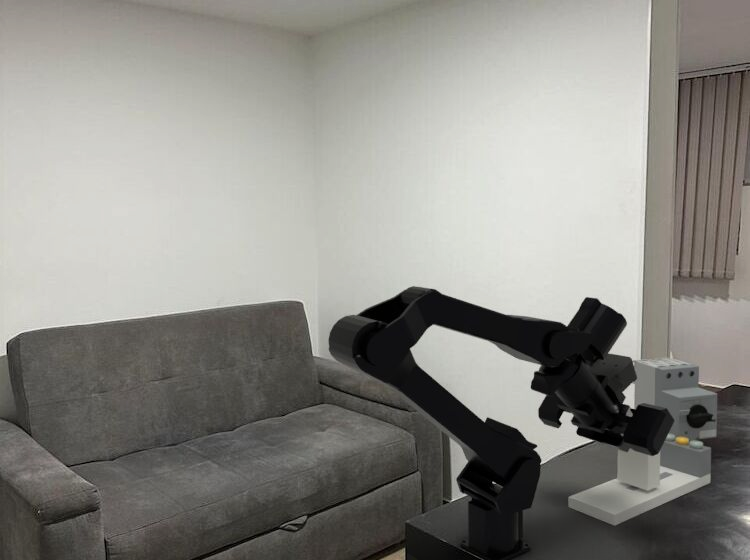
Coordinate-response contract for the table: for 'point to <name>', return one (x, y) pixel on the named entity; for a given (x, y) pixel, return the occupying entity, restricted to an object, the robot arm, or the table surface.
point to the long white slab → (677, 477)
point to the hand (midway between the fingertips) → (626, 448)
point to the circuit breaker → (677, 396)
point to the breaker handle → (638, 469)
